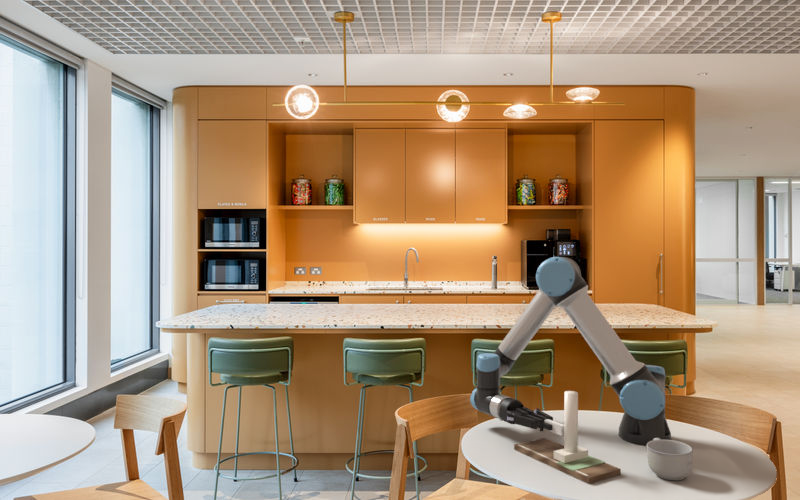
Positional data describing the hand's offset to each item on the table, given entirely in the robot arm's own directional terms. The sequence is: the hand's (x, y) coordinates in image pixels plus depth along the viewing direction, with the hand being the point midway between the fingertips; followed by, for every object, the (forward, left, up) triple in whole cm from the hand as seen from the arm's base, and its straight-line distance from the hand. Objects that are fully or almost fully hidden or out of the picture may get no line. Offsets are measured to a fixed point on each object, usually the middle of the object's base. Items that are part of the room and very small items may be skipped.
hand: (563, 430), depth 155 cm
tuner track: (-1, -1, -9) cm, 9 cm away
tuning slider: (-2, +1, -7) cm, 7 cm away
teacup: (-26, +7, -9) cm, 28 cm away
